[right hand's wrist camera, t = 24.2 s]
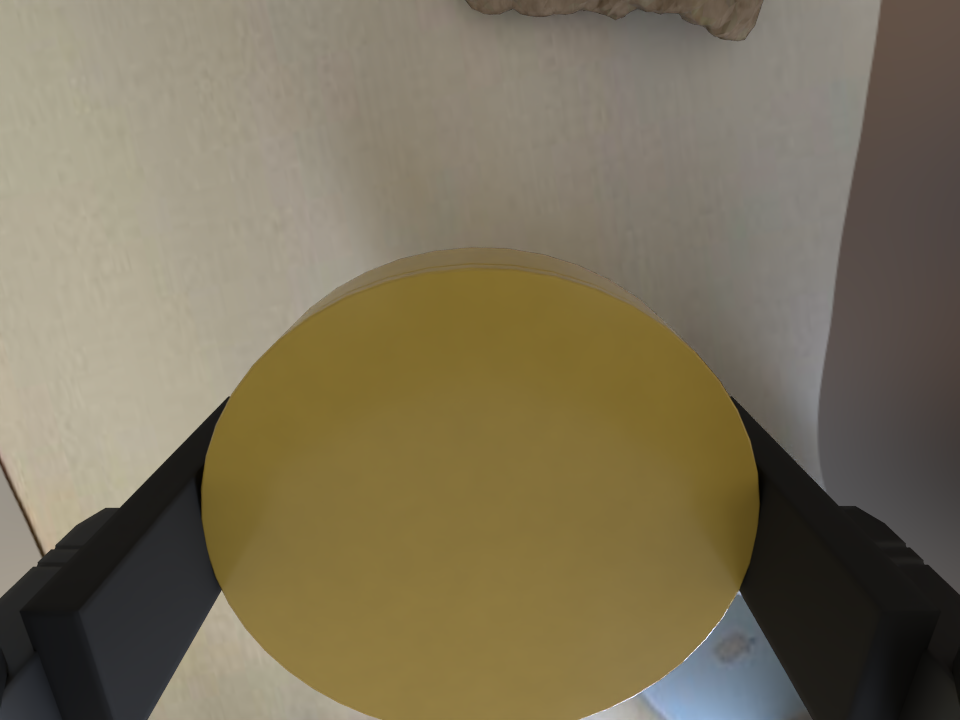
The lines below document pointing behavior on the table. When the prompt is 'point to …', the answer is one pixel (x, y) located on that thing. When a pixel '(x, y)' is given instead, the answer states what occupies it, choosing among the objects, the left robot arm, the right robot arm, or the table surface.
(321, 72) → the table surface
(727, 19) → the stone
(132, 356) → the table surface
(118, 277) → the table surface
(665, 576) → the lid
